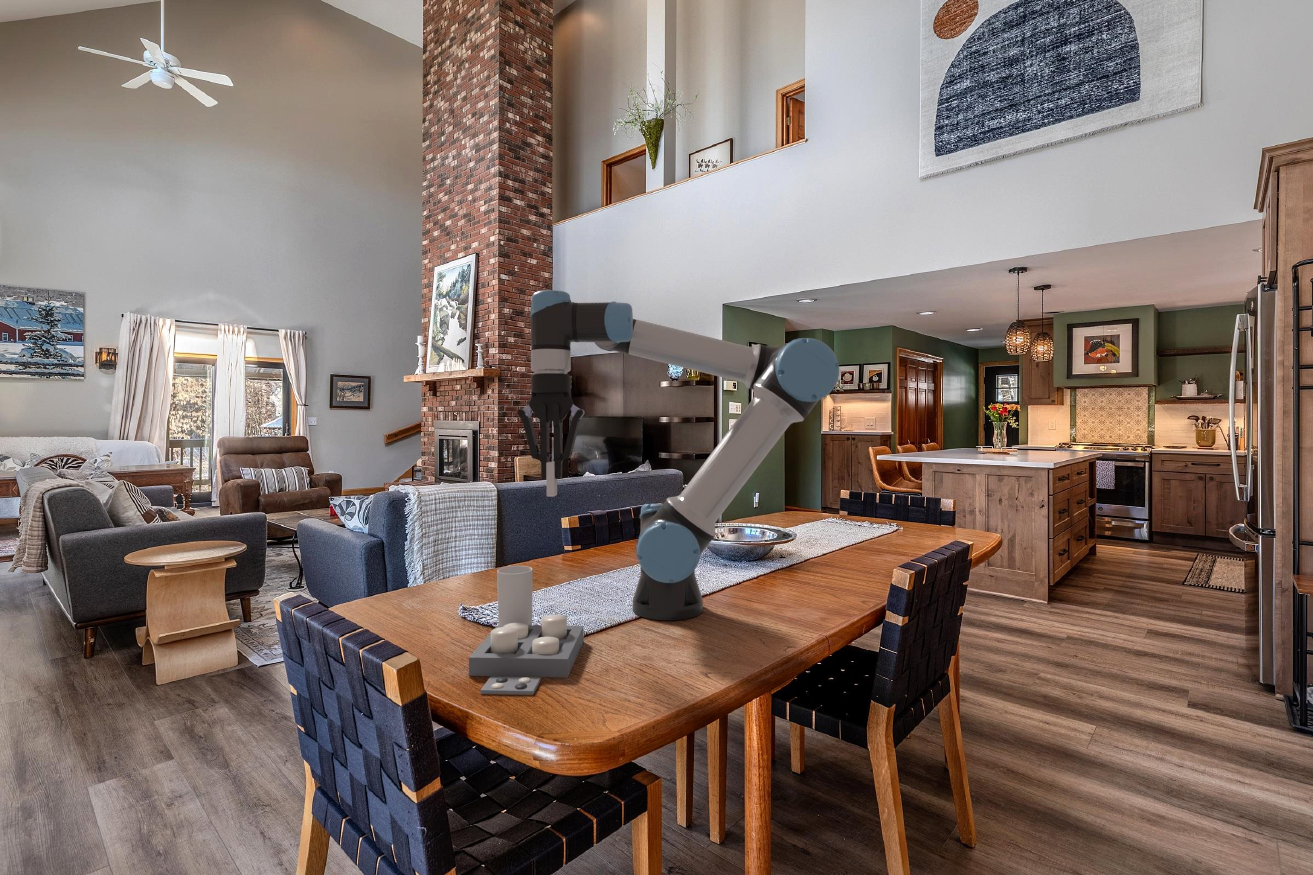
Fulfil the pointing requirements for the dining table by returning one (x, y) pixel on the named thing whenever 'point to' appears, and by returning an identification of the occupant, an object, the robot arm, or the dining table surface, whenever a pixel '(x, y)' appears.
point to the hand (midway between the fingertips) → (551, 495)
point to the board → (528, 657)
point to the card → (511, 685)
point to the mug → (515, 594)
